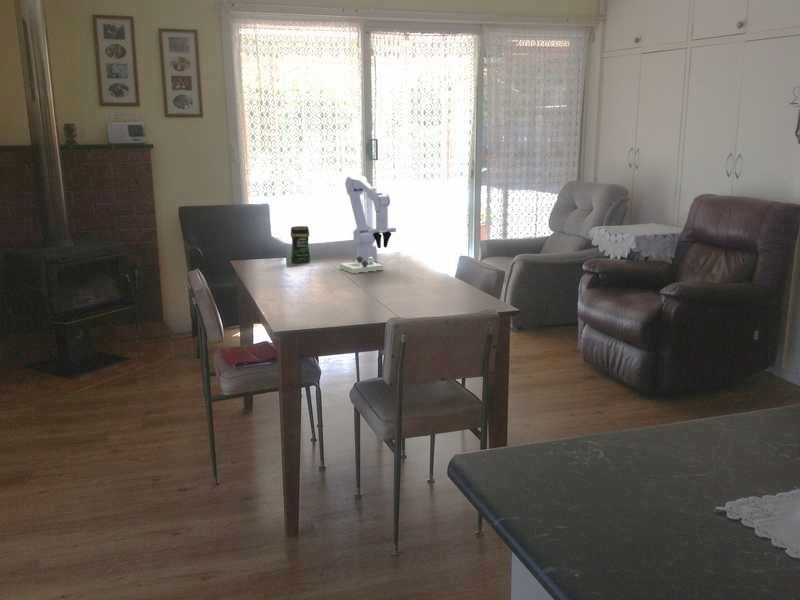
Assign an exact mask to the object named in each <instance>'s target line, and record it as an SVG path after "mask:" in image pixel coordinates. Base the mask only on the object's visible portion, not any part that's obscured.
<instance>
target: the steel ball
mask: <svg viewBox="0 0 800 600" xmlns="http://www.w3.org/2000/svg"><path fill="white" fill-rule="evenodd" d="M367 261H368V263H370V264H371V263H373V262H374V259H373V258H372V257H369V258H368V259H367Z"/></svg>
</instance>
